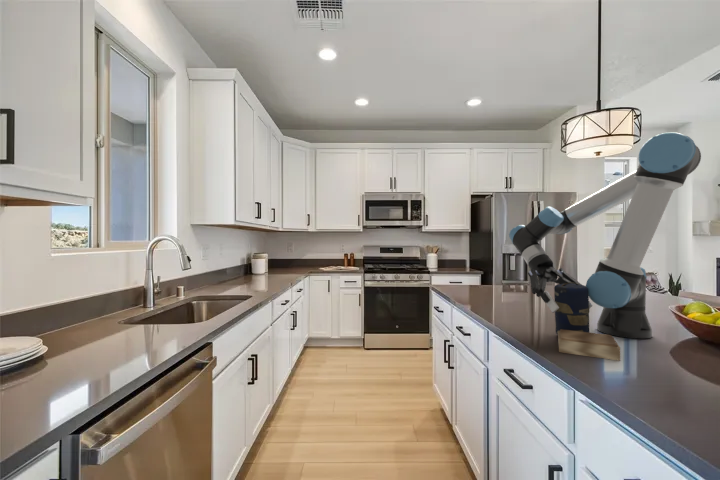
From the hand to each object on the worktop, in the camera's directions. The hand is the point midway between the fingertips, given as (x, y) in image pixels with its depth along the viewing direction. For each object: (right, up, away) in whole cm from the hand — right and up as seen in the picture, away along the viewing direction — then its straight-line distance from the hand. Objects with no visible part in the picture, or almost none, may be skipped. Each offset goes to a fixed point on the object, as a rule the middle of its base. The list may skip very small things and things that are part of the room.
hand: (572, 309), depth 112 cm
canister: (0, -9, +1) cm, 9 cm away
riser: (-3, -9, -12) cm, 16 cm away
